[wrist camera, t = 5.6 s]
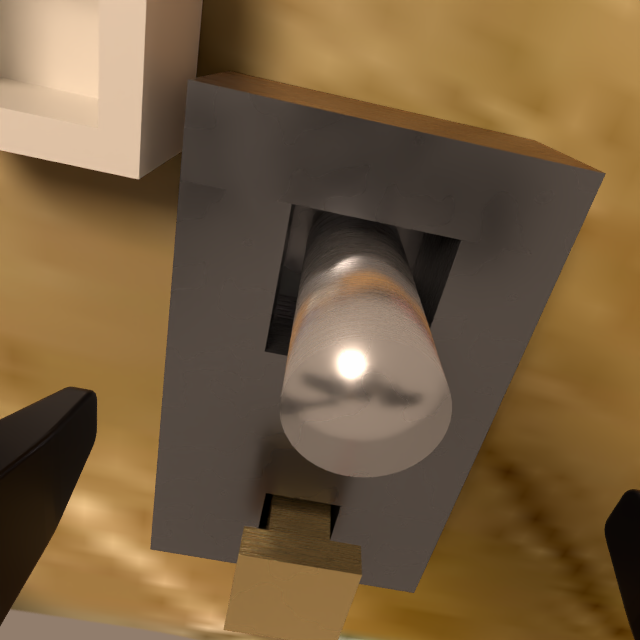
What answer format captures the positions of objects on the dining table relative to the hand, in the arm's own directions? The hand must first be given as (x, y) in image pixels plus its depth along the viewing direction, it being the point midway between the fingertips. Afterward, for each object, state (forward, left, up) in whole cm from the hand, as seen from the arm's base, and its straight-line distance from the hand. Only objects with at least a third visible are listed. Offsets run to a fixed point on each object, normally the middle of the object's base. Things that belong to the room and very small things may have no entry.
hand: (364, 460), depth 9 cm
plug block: (-9, 0, -10) cm, 13 cm away
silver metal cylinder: (0, 0, -10) cm, 10 cm away
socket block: (-3, 0, -11) cm, 12 cm away
